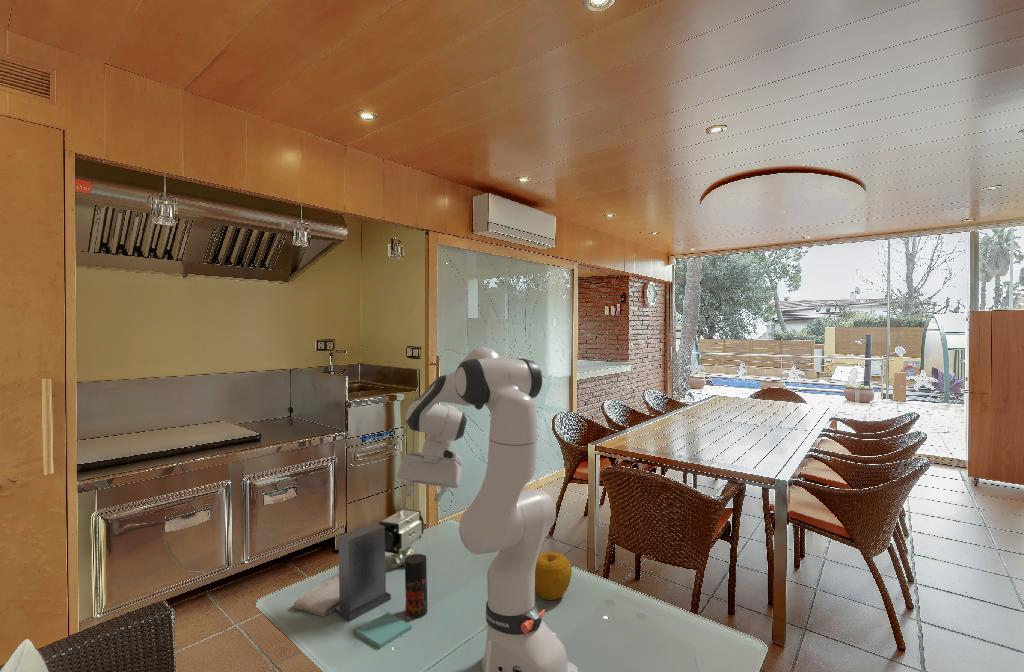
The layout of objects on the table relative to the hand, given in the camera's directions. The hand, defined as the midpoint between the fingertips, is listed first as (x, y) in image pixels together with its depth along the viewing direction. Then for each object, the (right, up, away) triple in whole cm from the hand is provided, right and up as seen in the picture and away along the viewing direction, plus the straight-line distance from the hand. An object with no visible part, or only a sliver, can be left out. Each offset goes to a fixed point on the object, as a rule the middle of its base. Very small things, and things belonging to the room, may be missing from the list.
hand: (422, 498), depth 145 cm
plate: (-6, -28, -20) cm, 35 cm away
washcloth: (-27, -30, -2) cm, 40 cm away
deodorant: (0, -28, -11) cm, 30 cm away
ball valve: (-10, -29, +19) cm, 36 cm away
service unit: (-16, -28, -7) cm, 33 cm away
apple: (+39, -28, -3) cm, 48 cm away
